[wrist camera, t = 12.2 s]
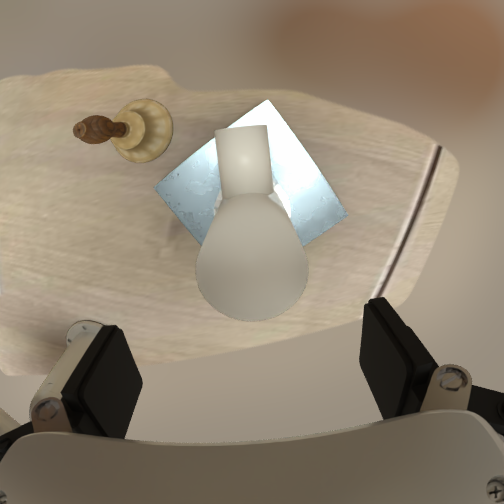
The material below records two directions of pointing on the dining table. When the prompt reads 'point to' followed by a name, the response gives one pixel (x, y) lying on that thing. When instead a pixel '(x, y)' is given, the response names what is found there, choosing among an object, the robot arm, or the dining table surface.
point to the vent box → (283, 173)
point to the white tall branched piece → (250, 235)
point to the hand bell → (131, 130)
